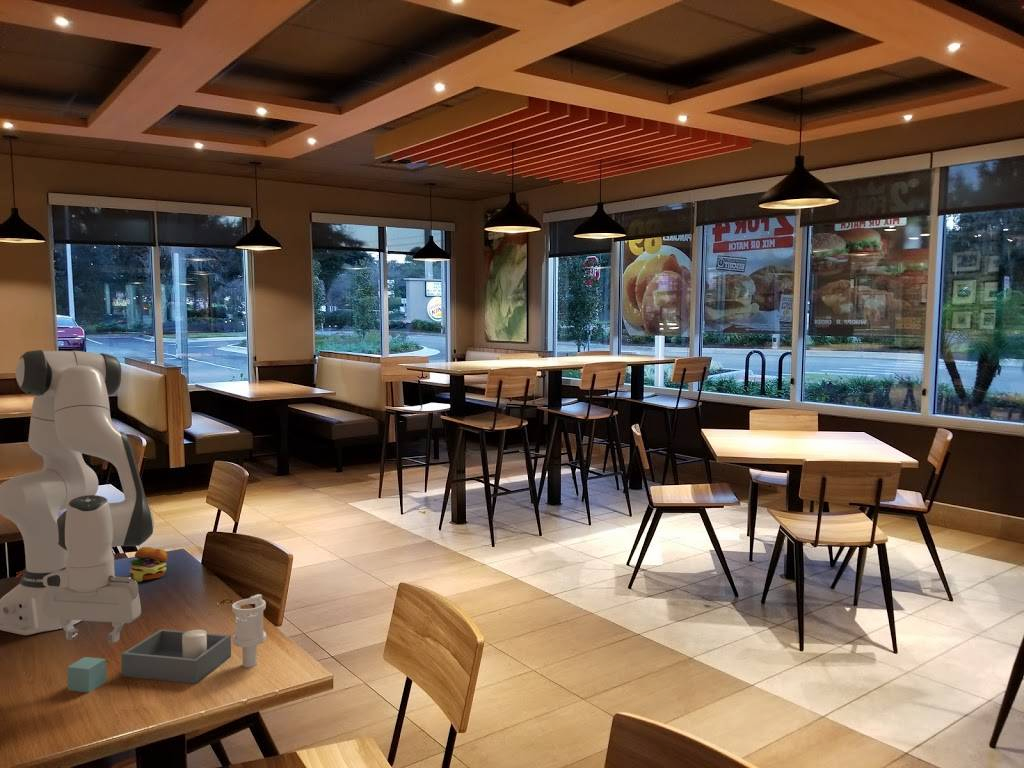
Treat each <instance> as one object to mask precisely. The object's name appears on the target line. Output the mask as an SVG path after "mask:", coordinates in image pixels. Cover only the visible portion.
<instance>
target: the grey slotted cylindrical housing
mask: <svg viewBox="0 0 1024 768" xmlns="http://www.w3.org/2000/svg"><path fill="white" fill-rule="evenodd" d="M245 605H246V606H247V605H254V607H253V608H241V606H245ZM266 605H267V603H266V600H264V599H263V594H259V593H258V594H255V595H251V596H250V597H249V598H243V599H241V600H238V601H235V602H233V604H232V605H231V606H232V607H231V608H232V609H231V610H232V613H233V614H235V633H234V635H233V636H232V644H233V645H234V646H236V647H240V648H241V647H242V667H244V668H254V667H256V666H257V665H258V646H259V645H261V644H264V642H265V641H267V632H266V631H265V630H264V611H265V609H266V607H267V606H266Z"/></svg>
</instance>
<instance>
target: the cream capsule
mask: <svg viewBox="0 0 1024 768" xmlns="http://www.w3.org/2000/svg"><path fill="white" fill-rule="evenodd" d="M207 633H208V632H207V631H206V630H204V629H192V630H187V631H186V632H185V633H184V634H182V657H183V658H190V659H196V658H197V657H198V656H200V655H201V654H202V653H204V652H205V651H207Z"/></svg>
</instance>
